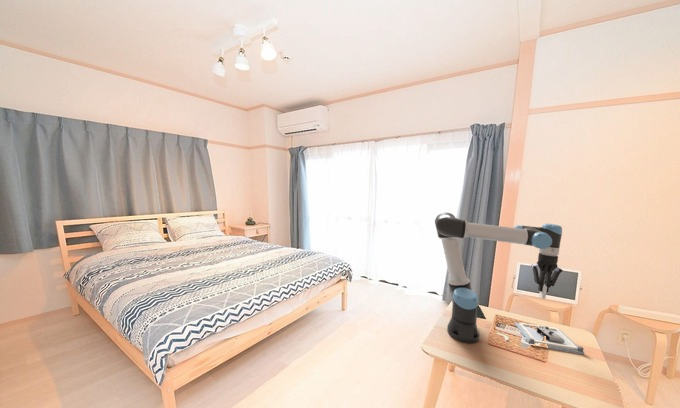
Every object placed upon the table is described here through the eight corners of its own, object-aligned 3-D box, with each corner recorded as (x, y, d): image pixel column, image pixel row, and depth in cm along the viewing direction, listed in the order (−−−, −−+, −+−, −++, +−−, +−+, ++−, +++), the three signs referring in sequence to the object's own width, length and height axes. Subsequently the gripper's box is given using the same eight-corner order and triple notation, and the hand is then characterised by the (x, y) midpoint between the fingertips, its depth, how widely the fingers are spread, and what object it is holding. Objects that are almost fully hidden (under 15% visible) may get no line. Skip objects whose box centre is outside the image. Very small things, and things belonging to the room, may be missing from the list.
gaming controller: (567, 342, 116) (557, 332, 116) (556, 350, 117) (547, 340, 117) (548, 328, 128) (540, 319, 127) (539, 335, 128) (530, 326, 128)
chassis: (530, 345, 117) (530, 340, 117) (513, 324, 135) (514, 319, 134) (584, 354, 112) (584, 349, 111) (559, 331, 129) (560, 326, 129)
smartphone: (473, 316, 141) (467, 303, 156) (473, 317, 142) (467, 304, 156) (486, 318, 139) (479, 305, 154) (486, 319, 140) (479, 306, 154)
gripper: (537, 254, 118) (531, 298, 120) (568, 257, 114) (561, 303, 117) (529, 250, 125) (524, 292, 128) (559, 253, 122) (552, 296, 124)
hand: (542, 297), depth 122 cm, fingers closed
